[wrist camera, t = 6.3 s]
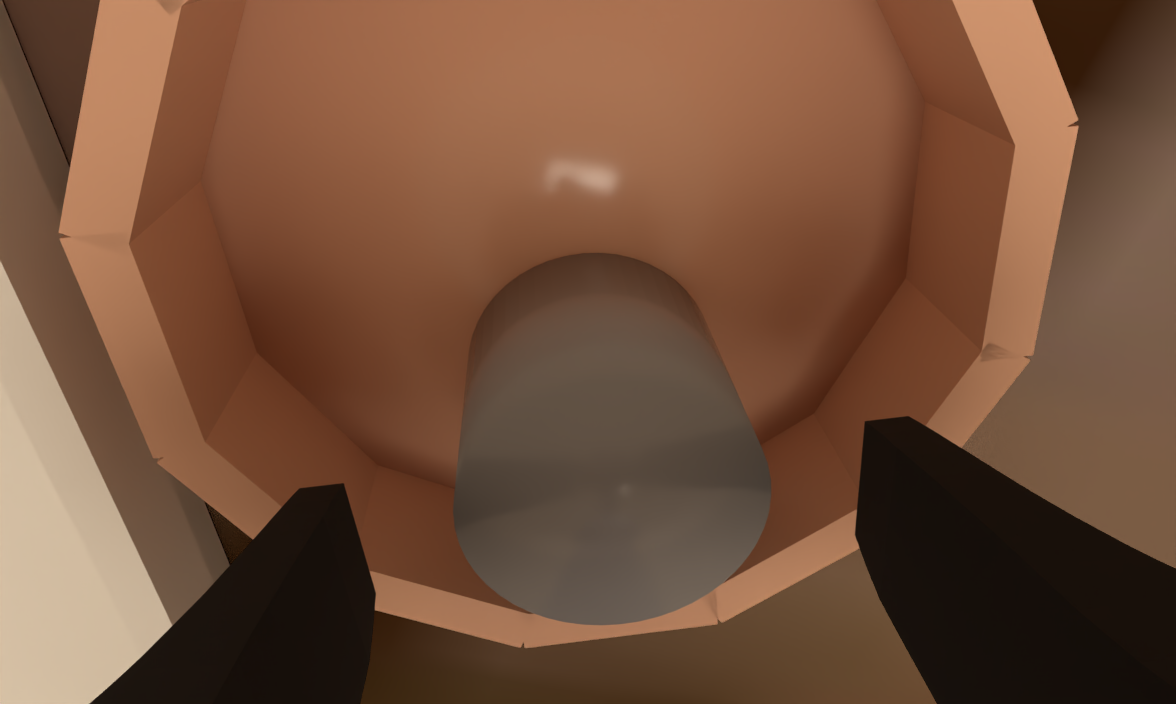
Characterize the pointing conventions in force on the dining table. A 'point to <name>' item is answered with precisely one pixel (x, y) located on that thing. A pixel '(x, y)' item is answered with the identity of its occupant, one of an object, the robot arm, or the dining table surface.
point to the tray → (73, 452)
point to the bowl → (556, 238)
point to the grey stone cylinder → (603, 446)
